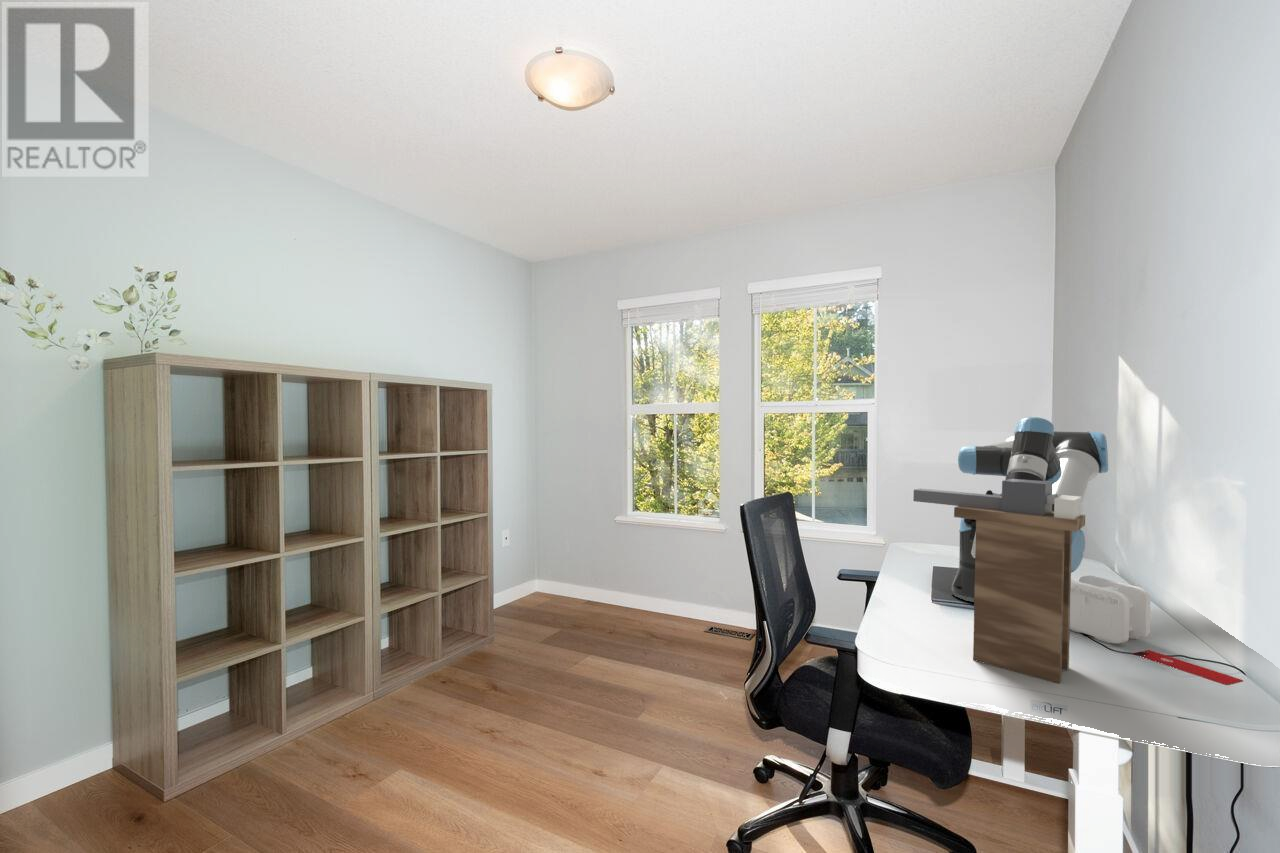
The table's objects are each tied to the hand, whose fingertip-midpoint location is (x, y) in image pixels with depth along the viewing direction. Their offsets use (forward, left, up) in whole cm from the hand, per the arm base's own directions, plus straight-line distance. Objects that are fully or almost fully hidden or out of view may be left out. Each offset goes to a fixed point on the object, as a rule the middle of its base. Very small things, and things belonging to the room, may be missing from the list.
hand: (1008, 562), depth 125 cm
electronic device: (-9, +28, -17) cm, 34 cm away
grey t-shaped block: (+14, -2, +13) cm, 19 cm away
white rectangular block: (+14, +12, +13) cm, 23 cm away
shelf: (+14, +4, -17) cm, 22 cm away
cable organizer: (-19, +14, -17) cm, 29 cm away
